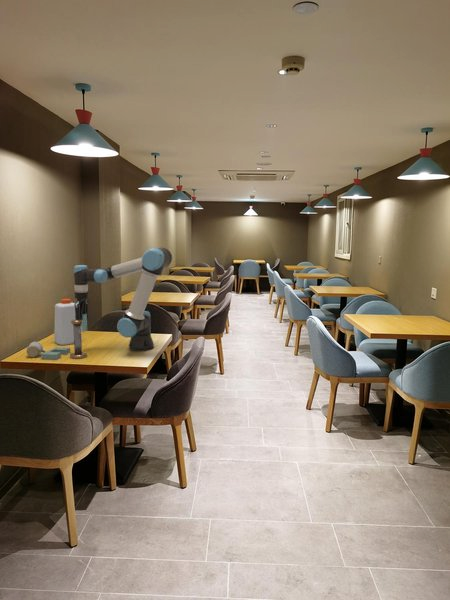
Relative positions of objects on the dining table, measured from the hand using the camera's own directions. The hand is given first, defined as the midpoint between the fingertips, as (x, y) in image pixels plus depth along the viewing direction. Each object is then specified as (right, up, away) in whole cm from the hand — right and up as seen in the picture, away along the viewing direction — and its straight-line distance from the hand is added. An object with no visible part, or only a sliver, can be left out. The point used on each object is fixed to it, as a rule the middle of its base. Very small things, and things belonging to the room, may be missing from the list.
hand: (82, 330), depth 274 cm
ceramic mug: (-23, -14, -10) cm, 29 cm away
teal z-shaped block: (-12, -14, -10) cm, 21 cm away
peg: (0, 0, 0) cm, 0 cm away
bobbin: (+2, -14, -12) cm, 19 cm away
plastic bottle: (-16, -9, +22) cm, 29 cm away
